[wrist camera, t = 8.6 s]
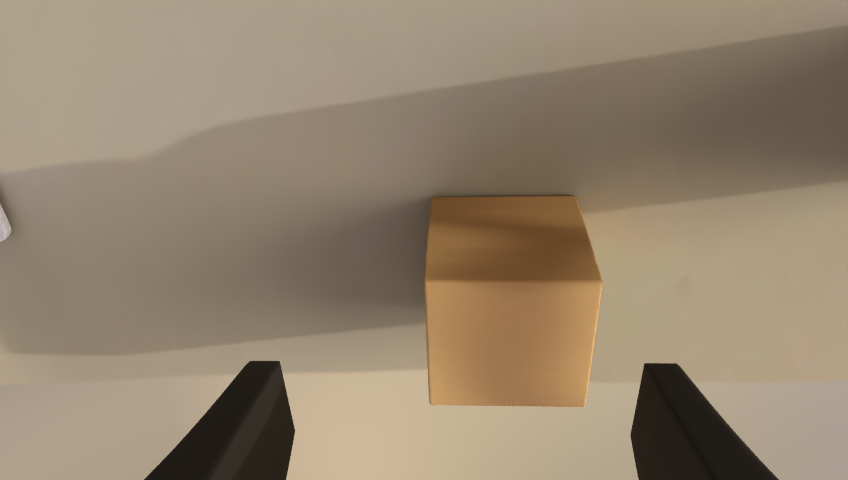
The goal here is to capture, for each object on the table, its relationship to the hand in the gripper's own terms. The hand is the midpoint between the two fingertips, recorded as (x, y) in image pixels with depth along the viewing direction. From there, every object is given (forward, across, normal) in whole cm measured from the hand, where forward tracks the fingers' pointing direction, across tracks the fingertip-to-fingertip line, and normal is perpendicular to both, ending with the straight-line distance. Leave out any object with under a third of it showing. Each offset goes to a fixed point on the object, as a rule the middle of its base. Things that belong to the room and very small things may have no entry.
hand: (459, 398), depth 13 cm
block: (+10, -1, +4) cm, 11 cm away
